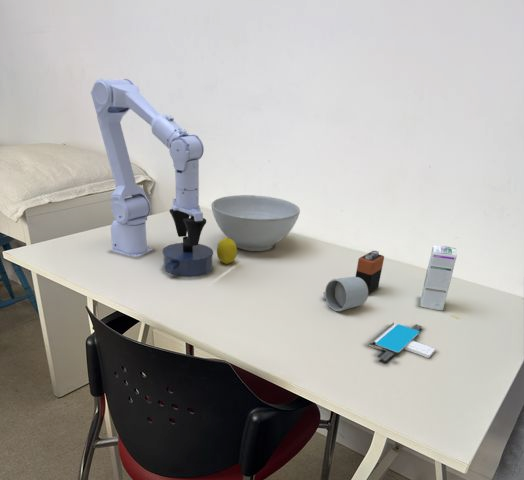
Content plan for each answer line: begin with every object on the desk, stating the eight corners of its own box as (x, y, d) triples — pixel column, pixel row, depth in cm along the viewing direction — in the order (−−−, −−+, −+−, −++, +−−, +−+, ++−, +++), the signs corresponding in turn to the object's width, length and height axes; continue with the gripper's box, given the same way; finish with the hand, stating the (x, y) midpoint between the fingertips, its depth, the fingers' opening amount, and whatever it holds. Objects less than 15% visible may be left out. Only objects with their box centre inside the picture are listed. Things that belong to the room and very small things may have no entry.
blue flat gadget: (413, 374, 97) (415, 367, 96) (358, 353, 103) (360, 346, 102) (447, 337, 111) (449, 331, 110) (397, 320, 117) (398, 314, 116)
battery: (378, 288, 133) (385, 252, 128) (367, 295, 128) (374, 258, 123) (364, 283, 135) (370, 248, 130) (352, 290, 130) (358, 254, 125)
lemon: (237, 262, 143) (238, 235, 139) (234, 269, 138) (235, 241, 134) (218, 260, 143) (219, 233, 139) (215, 267, 138) (215, 239, 134)
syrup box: (443, 311, 123) (458, 255, 116) (418, 306, 124) (432, 251, 117) (442, 302, 128) (457, 247, 120) (419, 298, 129) (432, 244, 122)
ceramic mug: (368, 309, 121) (373, 279, 117) (343, 316, 117) (348, 286, 113) (338, 293, 128) (342, 265, 125) (314, 300, 124) (317, 270, 120)
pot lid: (155, 260, 128) (154, 242, 126) (172, 244, 140) (171, 227, 137) (205, 266, 127) (205, 249, 124) (218, 249, 138) (218, 233, 136)
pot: (148, 275, 130) (147, 257, 128) (185, 255, 145) (185, 239, 142) (190, 286, 126) (190, 268, 124) (224, 264, 141) (225, 247, 138)
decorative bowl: (245, 226, 173) (247, 190, 166) (311, 245, 160) (316, 207, 154) (192, 244, 153) (192, 204, 147) (263, 267, 141) (266, 224, 134)
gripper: (161, 182, 128) (163, 233, 135) (183, 196, 117) (184, 251, 124) (186, 180, 131) (187, 231, 138) (210, 194, 121) (210, 248, 128)
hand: (187, 240), depth 131 cm, fingers open, 7 cm apart
